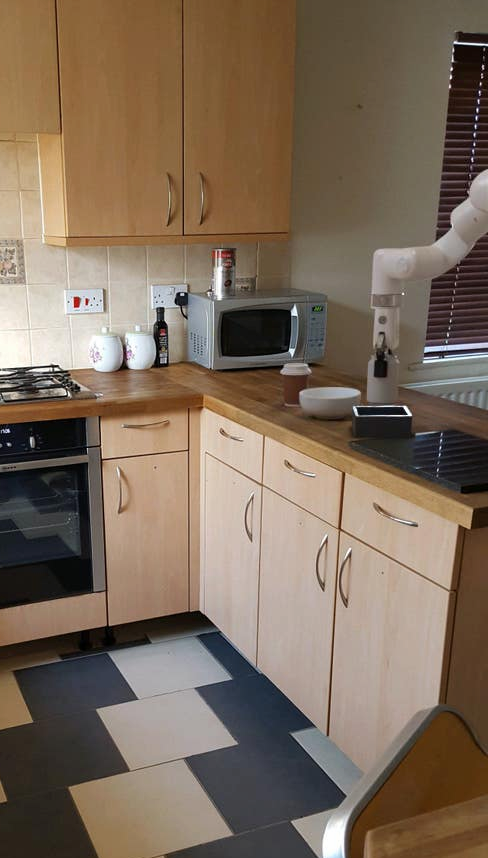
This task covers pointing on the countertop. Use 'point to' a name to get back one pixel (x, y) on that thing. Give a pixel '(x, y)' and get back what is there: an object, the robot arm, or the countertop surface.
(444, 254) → the robot arm
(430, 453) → the countertop surface
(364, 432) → the tote
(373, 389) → the can
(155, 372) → the countertop surface
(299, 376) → the coffee cup
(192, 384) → the countertop surface
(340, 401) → the cereal bowl
